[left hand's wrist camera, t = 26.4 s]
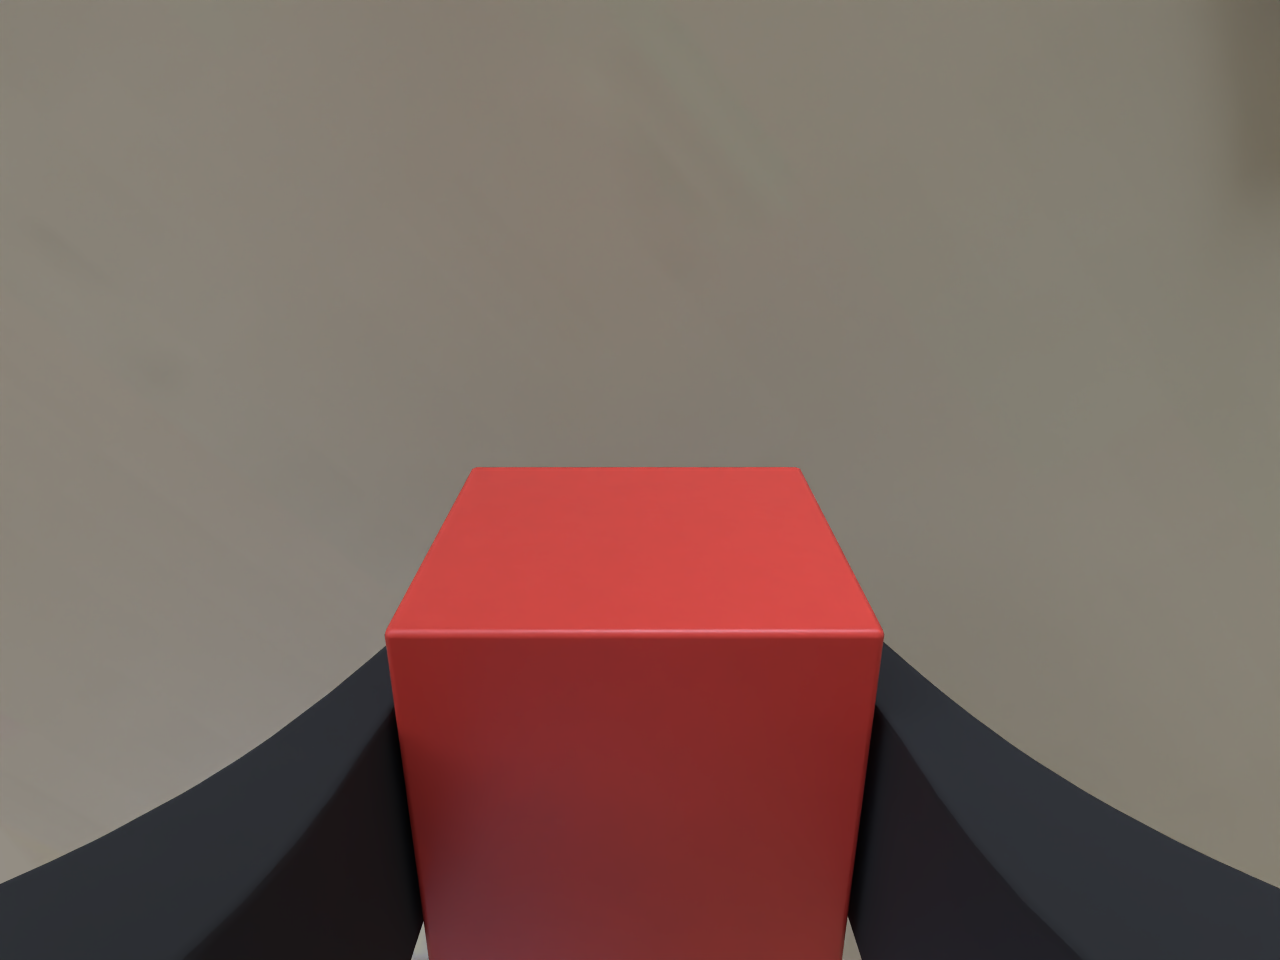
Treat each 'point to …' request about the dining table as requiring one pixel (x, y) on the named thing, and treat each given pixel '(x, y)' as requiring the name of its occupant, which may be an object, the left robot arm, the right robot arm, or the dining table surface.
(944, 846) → the left robot arm
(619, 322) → the dining table surface
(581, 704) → the block
